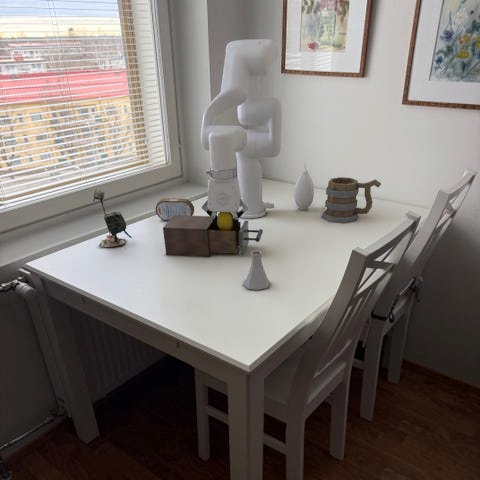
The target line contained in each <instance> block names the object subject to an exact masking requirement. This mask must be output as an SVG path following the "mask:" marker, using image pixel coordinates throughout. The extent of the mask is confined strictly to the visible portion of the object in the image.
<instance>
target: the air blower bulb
mask: <svg viewBox="0 0 480 480" xmlns="http://www.w3.org/2000/svg"><path fill="white" fill-rule="evenodd" d="M306 169H307V164H306V163H305V164H304V169H303V170H302V171H301V173H300V174H299V175H298V178H297V179H296V183H295V186H294V191H293V198H294V202H295V206H296V207H297V208H299V209H300V210H301V211H306V210H307V209H308V208H310V207H311V205H312V203H313V201H314V197H315V187H314V182H313V179H312V177H311V175H310V173H309V170H306Z"/></svg>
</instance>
